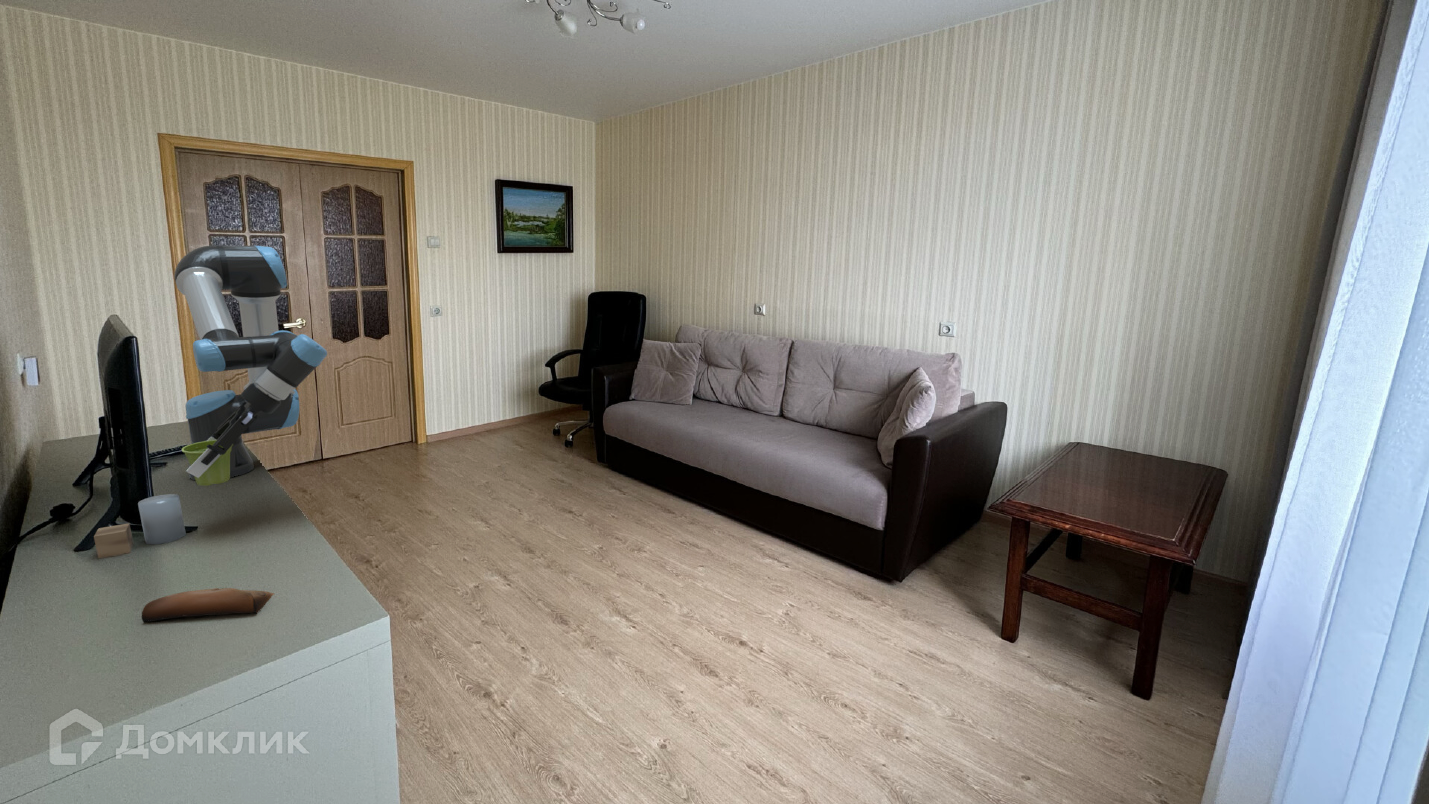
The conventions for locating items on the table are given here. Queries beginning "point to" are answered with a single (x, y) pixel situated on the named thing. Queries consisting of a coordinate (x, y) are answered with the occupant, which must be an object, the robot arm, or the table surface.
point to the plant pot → (217, 470)
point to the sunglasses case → (205, 603)
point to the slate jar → (161, 518)
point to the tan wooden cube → (113, 540)
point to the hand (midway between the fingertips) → (193, 467)
